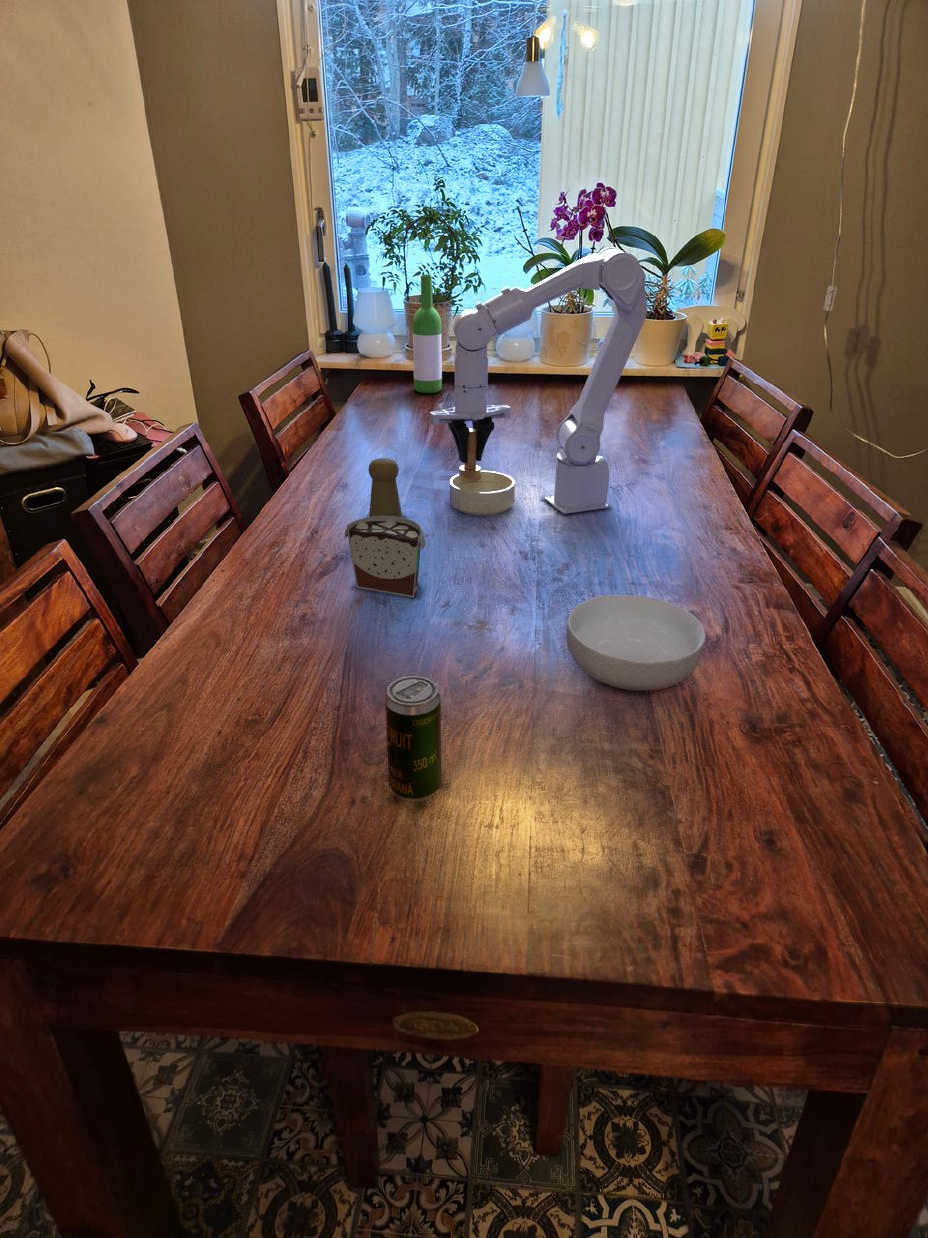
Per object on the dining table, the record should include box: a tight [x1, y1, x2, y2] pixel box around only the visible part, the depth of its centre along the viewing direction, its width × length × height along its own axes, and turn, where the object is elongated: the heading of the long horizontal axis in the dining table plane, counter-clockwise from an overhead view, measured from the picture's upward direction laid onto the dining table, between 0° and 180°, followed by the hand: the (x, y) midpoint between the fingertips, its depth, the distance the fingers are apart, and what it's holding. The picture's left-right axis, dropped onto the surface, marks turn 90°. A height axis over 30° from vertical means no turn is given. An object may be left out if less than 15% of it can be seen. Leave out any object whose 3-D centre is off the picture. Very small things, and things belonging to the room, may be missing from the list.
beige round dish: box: [449, 470, 516, 516], centre depth 152 cm, size 12×12×4 cm
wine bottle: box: [412, 273, 443, 394], centre depth 220 cm, size 8×8×30 cm
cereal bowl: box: [566, 593, 707, 692], centre depth 101 cm, size 17×17×7 cm
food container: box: [344, 516, 426, 599], centre depth 122 cm, size 12×6×10 cm, turn 71°
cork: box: [368, 457, 403, 518], centre depth 143 cm, size 6×6×11 cm
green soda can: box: [384, 675, 442, 803], centre depth 81 cm, size 5×5×12 cm
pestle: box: [458, 427, 482, 482], centre depth 147 cm, size 4×4×9 cm
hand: (470, 460), depth 148 cm, fingers closed on pestle, 2 cm apart
